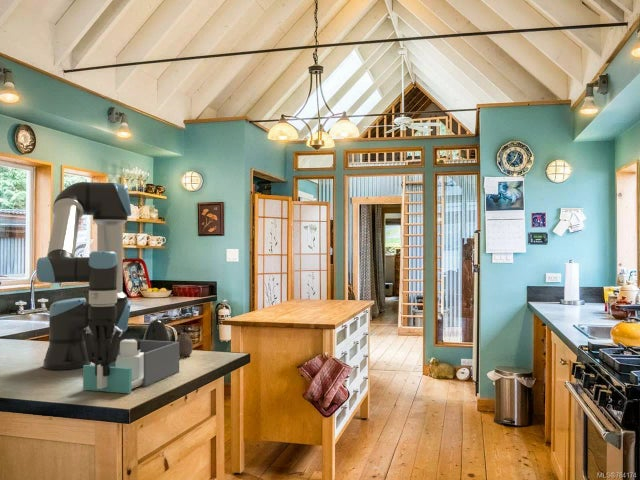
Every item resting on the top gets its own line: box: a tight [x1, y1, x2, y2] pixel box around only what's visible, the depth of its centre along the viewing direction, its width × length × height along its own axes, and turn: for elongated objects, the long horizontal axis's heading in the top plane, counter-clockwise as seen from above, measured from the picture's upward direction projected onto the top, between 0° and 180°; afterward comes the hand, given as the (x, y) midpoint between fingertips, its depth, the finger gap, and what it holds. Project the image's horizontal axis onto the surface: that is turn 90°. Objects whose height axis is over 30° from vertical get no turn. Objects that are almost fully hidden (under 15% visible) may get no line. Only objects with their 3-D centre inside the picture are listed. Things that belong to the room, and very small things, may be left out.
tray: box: [82, 364, 144, 394], centre depth 167 cm, size 15×20×7 cm
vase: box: [175, 332, 194, 358], centre depth 209 cm, size 7×7×9 cm
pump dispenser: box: [142, 319, 171, 342], centre depth 200 cm, size 10×10×15 cm
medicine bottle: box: [115, 337, 144, 380], centre depth 169 cm, size 7×7×12 cm
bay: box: [110, 339, 180, 388], centre depth 175 cm, size 15×20×10 cm
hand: (102, 387), depth 156 cm, fingers closed
